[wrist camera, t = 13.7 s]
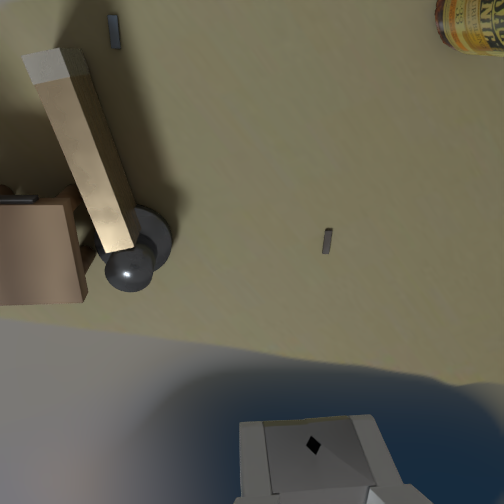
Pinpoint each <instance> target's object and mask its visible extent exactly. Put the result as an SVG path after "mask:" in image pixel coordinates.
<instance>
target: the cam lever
mask: <svg viewBox="0 0 504 504" xmlns="http://www.w3.org/2000/svg"><path fill="white" fill-rule="evenodd" d="M21 57H22V59H23V62H24V64H25V67H26V69H27V71H28V74H29V76H30V78H31V81H32V83H33V85H35V87H36V89H37V92H38V94H39V97H40V99H41V101H42V104H43V106H44V108H45V111H46V113H47V115H48V118H49V120H50V122H51V125H52V127H53V130H54V132H55V134H56V137H57V139H58V141H59V144H60V146H61V148H62V151H63V153H64V155H65V158H66V160H67V162H68V165H69V167H70V170H71V172H72V174H73V177H74V179H75V181H76V184H77V186H78V188H79V191H80V193H81V195H82V198H83V200H84V203H85V205H86V207H87V210H88V212H89V214H90V217H91V219H92V221H93V224H94V226H95V228H96V231H95V237H94V241H95V247H96V250H97V252H98V254H99V256H100V257H101V259H102V260H103V261H104V262H105V263H106V266H105V275H106V278H107V280H108V281H109V283H110V284H111V285H112V286H113V287H115V288H116V289H118V290H121V291H124V292H137V291H140V290H142V289H144V288H145V287H147V286H148V285H149V283H150V282H151V279H152V276H153V272H154V271H156V270H157V269H159V268H160V267H161V266H162V265H163V264H164V263H165V262H166V261H167V259H168V257H169V255H170V252H171V247H172V233H171V230H170V227H169V225H168V224H167V222H166V221H165V219H164V218H163V217H162V216H161V215H160V214H158V213H157V212H156V211H154V210H152V209H150V208H148V207H145V206H142V205H136V203H135V200H134V197H133V194H132V192H131V189H130V186H129V183H128V180H127V178H126V175H125V172H124V169H123V166H122V164H121V161H120V158H119V155H118V152H117V150H116V147H115V144H114V141H113V138H112V136H111V133H110V130H109V127H108V124H107V122H106V119H105V116H104V113H103V110H102V108H101V105H100V102H99V99H98V96H97V94H96V91H95V88H94V85H93V82H92V80H91V77H90V71H89V68H88V66H87V63H86V60H85V57H84V54H83V52H82V49H73V48H55V49H50V50H46V51H41V52H36V53H32V54H27V55H22V56H21Z"/></svg>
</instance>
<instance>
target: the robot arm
mask: <svg viewBox="0 0 504 504" xmlns="http://www.w3.org/2000/svg"><path fill="white" fill-rule="evenodd" d="M240 480H241V497H237V498H236V500H235V502H234V503H233V504H433V503H432V502H431V501H430V500H428V499H427V498H426V497H425V496H424V495H423V494H421V493H420V492H419V491H418V490H417V489H416V488H415V487H413V486H412V485H411V484H403V482H402V480H401V478H400V475H399V473H398V471H397V469H396V466H395V464H394V462H393V460H392V458H391V455H390V453H389V451H388V449H387V447H386V444H385V442H384V440H383V438H382V435H381V433H380V431H379V429H378V427H377V424H376V422H375V420H374V418H373V417H372V416H371V415H355V416H335V417H322V418H310V419H305V420H284V421H283V420H282V421H263V422H261V421H259V422H241V423H240Z"/></svg>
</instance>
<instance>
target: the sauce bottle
mask: <svg viewBox="0 0 504 504" xmlns="http://www.w3.org/2000/svg"><path fill="white" fill-rule="evenodd" d="M436 7H437V8H436V10H435V21H436V26H437V30H438V33H439V34H440V37H441V39H442V41H443V43H444V44H446V45H448V46H449V47H451V48H453V49H454V50H458V51H459V52H462V53H464V54H472V55H488V56H502V57H504V0H438V1H437V3H436Z"/></svg>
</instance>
